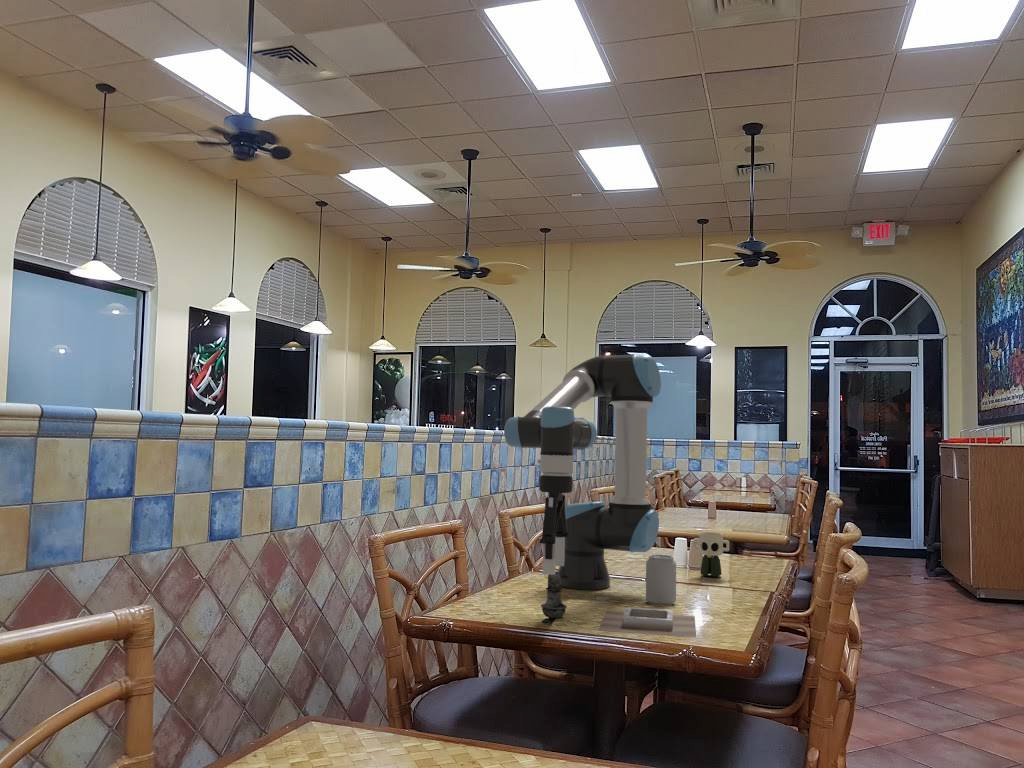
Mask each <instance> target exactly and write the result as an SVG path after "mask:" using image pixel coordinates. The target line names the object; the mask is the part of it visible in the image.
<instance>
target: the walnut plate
mask: <svg viewBox="0 0 1024 768" xmlns="http://www.w3.org/2000/svg"><path fill="white" fill-rule="evenodd" d="M624 613H625V611H621V610H606V612H605V614H604V615H603V616H604V617H603V619H602V621H601V623H600V626H599V628H598V631H601V632H613V633H614V632H615V633H627V634H628V633H629V634H639V635H641V634H643V635H657V636H671V637H683V638H684V637H685V638H697V628H696V617H695V615H684V614H683V615H682V614H681V615H680V614H673V630H664V629H649V628H635V627H623V616H624Z"/></svg>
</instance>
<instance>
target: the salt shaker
mask: <svg viewBox="0 0 1024 768" xmlns="http://www.w3.org/2000/svg"><path fill="white" fill-rule="evenodd" d="M557 572H558V571H557V570H555V575H550V574H547V587H546V588H545V590H547V596H546V601H545V603H542V604H541V605H540V607H541V610H542V613H543V615H544V616H545V618H543V619H542V620H541V623H542V624H545V625H550V626H552V625H553V624H554V622H556V620H557V619H559V618H562V617H563V616H564V615H565V614H566V609H567V608H568V605H567V604H564V603H563V602H562V598H561V597H562V590H563V587H561V575H560V574H559V573H557Z"/></svg>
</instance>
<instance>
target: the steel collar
mask: <svg viewBox="0 0 1024 768" xmlns="http://www.w3.org/2000/svg"><path fill="white" fill-rule="evenodd" d="M624 612H625V613H624V616H623V627H635V628H649V629H664V630H673V615H674V610H673V609H661V608H644V607H629V606H627V607H625V611H624Z"/></svg>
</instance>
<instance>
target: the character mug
mask: <svg viewBox="0 0 1024 768" xmlns="http://www.w3.org/2000/svg"><path fill="white" fill-rule="evenodd" d="M698 536H699V537H695V538H693V539H692V548H693V549H694V550H698V551H699V553H700V554H701V555H703V557H702V559H701V565H700V575H702V576H706V577H708V576H709V575H710V576H711V577H715V578H716V577H721V576H722V566H721V565H722V564H721V558H719V556H721V555H723V553H724V552H729V551H730V541H729V540H727V539H724V534H723V533H721V532H712V531H710V532H709V531H702V532H699V535H698ZM697 542H699V543H698V544H699V545H697ZM724 544H725V546H726V547H724Z"/></svg>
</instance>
